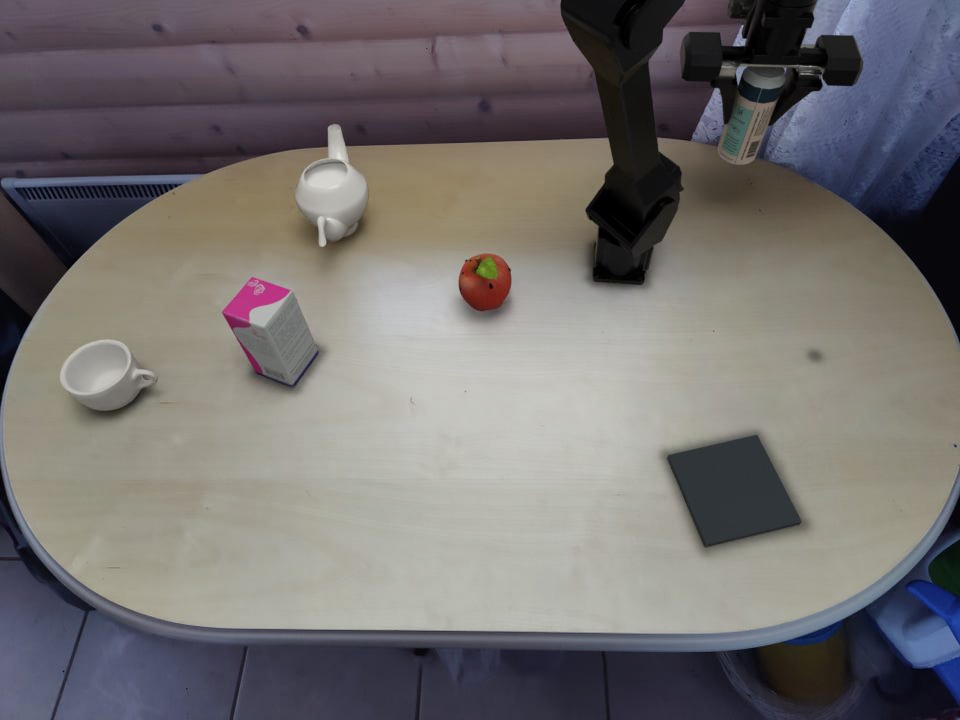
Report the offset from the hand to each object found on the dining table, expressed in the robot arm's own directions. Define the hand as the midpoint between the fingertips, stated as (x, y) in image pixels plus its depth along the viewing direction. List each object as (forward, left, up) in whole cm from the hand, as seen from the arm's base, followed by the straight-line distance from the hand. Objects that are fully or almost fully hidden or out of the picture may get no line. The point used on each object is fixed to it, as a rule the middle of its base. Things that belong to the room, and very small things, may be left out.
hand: (747, 123), depth 83 cm
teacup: (-71, -38, -13) cm, 81 cm away
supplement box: (-53, -32, -13) cm, 63 cm away
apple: (-30, -21, -13) cm, 38 cm away
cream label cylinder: (0, 0, -5) cm, 5 cm away
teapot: (-52, -9, -13) cm, 54 cm away
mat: (-2, -43, -13) cm, 44 cm away
